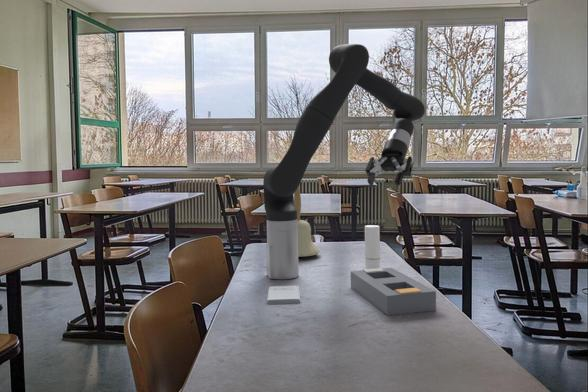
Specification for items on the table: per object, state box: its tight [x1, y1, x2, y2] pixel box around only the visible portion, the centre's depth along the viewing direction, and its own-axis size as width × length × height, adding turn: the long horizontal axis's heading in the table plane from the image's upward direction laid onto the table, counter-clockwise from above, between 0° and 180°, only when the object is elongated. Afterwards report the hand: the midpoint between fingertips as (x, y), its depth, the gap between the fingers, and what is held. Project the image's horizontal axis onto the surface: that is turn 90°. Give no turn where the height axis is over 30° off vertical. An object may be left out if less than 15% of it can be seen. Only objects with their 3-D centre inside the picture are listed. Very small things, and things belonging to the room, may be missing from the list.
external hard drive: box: [266, 285, 301, 305], centre depth 125 cm, size 2×8×12 cm
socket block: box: [350, 267, 437, 317], centre depth 121 cm, size 24×12×5 cm, turn 13°
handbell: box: [293, 187, 321, 258], centre depth 172 cm, size 15×15×25 cm
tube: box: [364, 224, 381, 269], centre depth 141 cm, size 4×4×15 cm
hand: (383, 184), depth 147 cm, fingers open, 8 cm apart
